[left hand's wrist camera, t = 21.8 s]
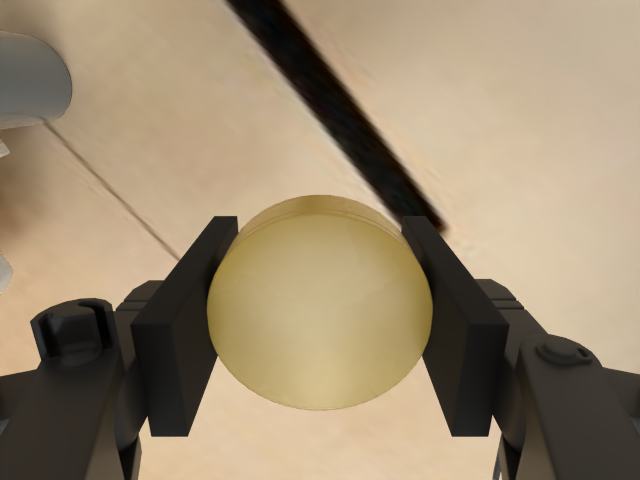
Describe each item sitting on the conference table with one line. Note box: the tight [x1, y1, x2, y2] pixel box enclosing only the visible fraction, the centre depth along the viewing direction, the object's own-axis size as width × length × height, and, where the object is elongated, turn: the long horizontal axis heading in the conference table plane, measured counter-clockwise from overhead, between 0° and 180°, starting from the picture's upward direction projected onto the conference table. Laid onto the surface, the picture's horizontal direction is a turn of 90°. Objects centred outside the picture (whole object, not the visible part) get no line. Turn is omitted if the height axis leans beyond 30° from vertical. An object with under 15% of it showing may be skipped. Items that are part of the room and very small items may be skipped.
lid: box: [207, 195, 433, 410], centre depth 11 cm, size 6×6×2 cm
